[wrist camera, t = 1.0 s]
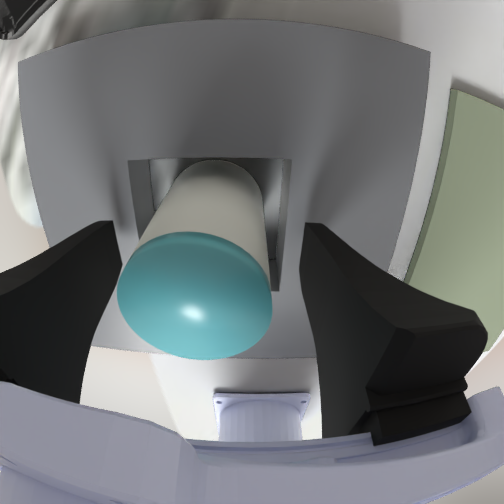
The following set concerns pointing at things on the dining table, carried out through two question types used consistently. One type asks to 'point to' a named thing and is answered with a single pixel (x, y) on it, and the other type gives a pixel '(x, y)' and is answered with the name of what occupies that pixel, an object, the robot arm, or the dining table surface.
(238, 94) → the housing
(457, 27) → the dining table surface
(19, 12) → the phone
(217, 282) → the cylinder
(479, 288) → the mat
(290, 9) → the dining table surface
